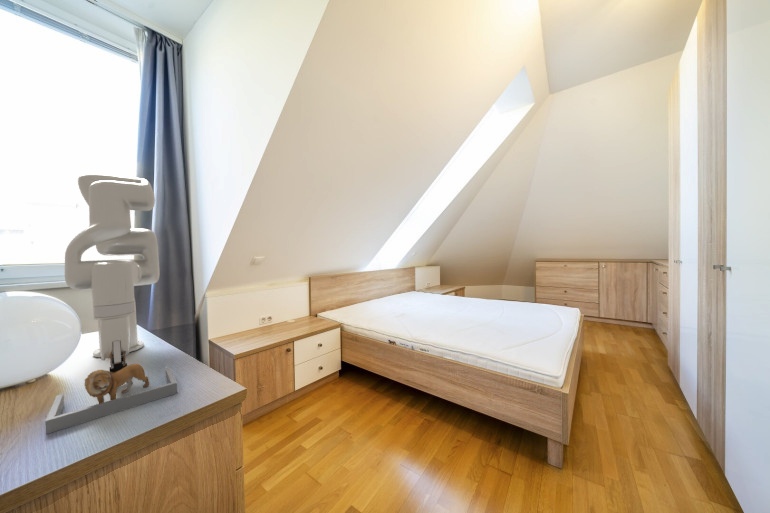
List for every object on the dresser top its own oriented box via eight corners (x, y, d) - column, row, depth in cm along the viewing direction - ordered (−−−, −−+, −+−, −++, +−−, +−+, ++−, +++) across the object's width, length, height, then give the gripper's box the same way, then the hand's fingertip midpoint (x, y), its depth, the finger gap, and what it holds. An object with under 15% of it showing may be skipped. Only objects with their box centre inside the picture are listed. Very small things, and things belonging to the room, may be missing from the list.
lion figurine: (105, 416, 57) (102, 373, 57) (76, 418, 57) (73, 375, 56) (156, 381, 72) (154, 348, 71) (133, 383, 71) (132, 349, 71)
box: (57, 406, 61) (56, 395, 61) (170, 375, 75) (169, 366, 75) (46, 434, 52) (45, 421, 52) (177, 393, 66) (176, 382, 66)
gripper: (95, 308, 72) (99, 376, 73) (91, 318, 61) (96, 398, 62) (133, 303, 77) (137, 367, 78) (136, 312, 67) (140, 386, 67)
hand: (119, 380), depth 70 cm, fingers closed
